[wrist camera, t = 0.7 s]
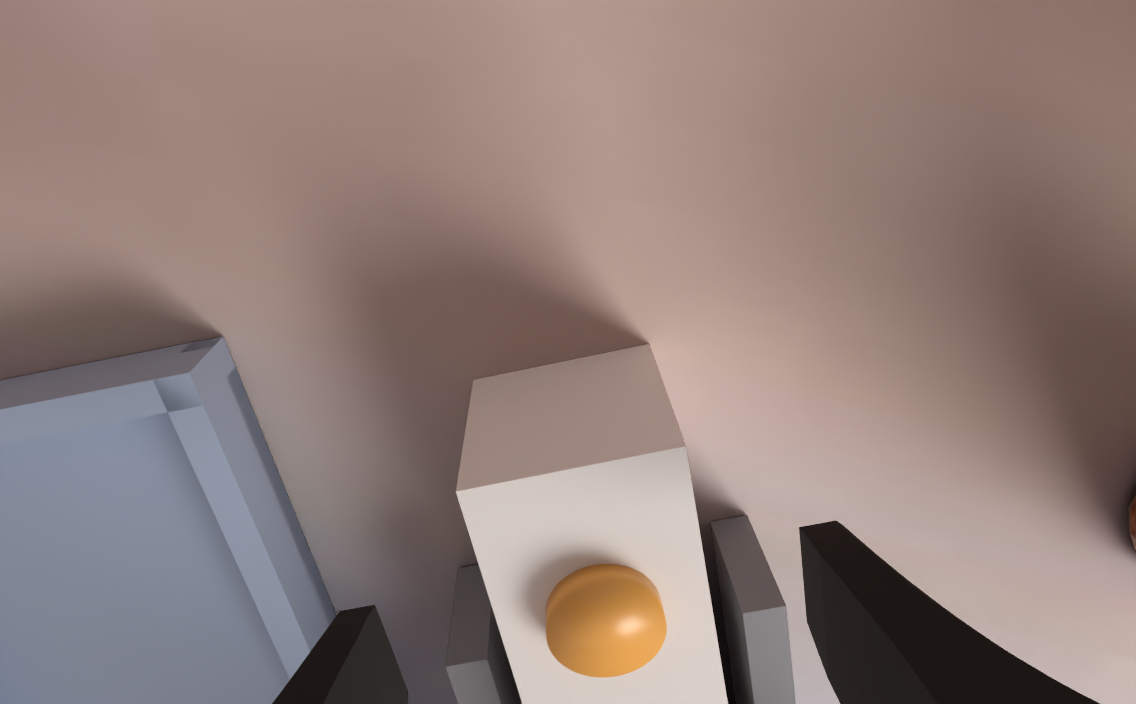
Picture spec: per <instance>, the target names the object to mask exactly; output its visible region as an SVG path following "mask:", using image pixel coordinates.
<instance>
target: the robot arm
mask: <svg viewBox="0 0 1136 704" xmlns="http://www.w3.org/2000/svg"><path fill="white" fill-rule="evenodd" d="M799 531H800V543H801V555H802V567H803V579H804V591H805V603H806V616H807V623H808V625H809V628H810V631H811V634H812V636H813V639H814V642H815V645H816V648H817V650H818V653H819V656H820V658H821V661H822V664H823V666H824V669H825V671H826V674H827V677H828V679H829V681H830V683H831V685H832V687H833V689H834V691H835V693H836V695H837V697H838V699H839V701H840V703H841V704H1099V703H1097V702H1095V701H1094V700H1092V699H1090V698H1088V697H1086V696H1084V695H1082V694H1080V693H1078V692H1076V691H1074V690H1072V689H1071V688H1069V687H1067V686H1065V685H1063V684H1061V683H1060V682H1058V681H1056V680H1054V679H1052V678H1051V677H1049V676H1047V675H1046V674H1044V673H1042V672H1041V671H1039V670H1037V669H1035V668H1034V667H1032V666H1030V665H1029V664H1027V663H1025V662H1024V661H1022V660H1020V659H1019V658H1017V657H1015V656H1014V655H1012V654H1011V653H1009V652H1007V651H1006V650H1004V649H1003V648H1001V647H1000V646H998V645H997V644H995V643H994V642H992V641H991V640H989V639H987V638H986V637H985V636H983V635H982V634H980V633H979V632H977V631H976V630H974V629H973V628H972V627H970V626H969V625H967V624H966V623H964V622H963V621H961V620H960V619H959V618H957V617H956V616H954V615H953V614H952V613H950V612H949V611H948V610H946V609H945V608H943V607H942V606H941V605H939V604H938V603H937V602H936V601H934V600H933V599H932V598H930V597H929V596H928V595H926V594H925V593H924V592H923V591H921V590H920V589H919V588H917V587H916V586H915V585H913V584H912V583H911V582H910V581H908V580H907V579H906V578H905V577H903V576H902V575H901V574H900V573H898V572H897V571H896V570H895V569H893V568H892V567H891V566H890V565H889V564H887V563H886V562H885V561H884V560H883V559H881V558H880V557H879V556H878V555H877V554H875V553H874V552H873V551H872V550H871V549H870V548H868V547H867V546H866V545H865V544H864V543H863V542H861V541H860V540H859V539H858V538H857V537H856V536H855V535H853V534H852V533H851V532H850V531H849V530H848V529H847V528H845V527H844V526H843V525H842V524H840V523H839V522H837V521H831V522H826V523H820V524H815V525H809V526H804V527H799ZM407 703H408V691H407V688H406V685H405V683H404V680H403V677H402V675H401V672H400V670H399V667H398V664H397V662H396V659H395V656H394V654H393V651H392V648H391V646H390V643H389V641H388V638H387V635H386V633H385V630H384V627H383V625H382V622H381V619H380V617H379V614H378V612H377V609H376V606H375V605H371V606H366V607H360V608H355V609H349V610H344V611H340V612H339V613H338V615H337V616H336V617H335V619H334V620H333V621H332V623H331V624H330V625H329V627H328V628H327V629H326V631H325V632H324V634H323V635H322V636H321V638H320V639H319V640H318V642H317V643H316V644H315V646H314V647H313V649H312V650H311V651H310V653H309V654H308V656H307V657H306V658H305V660H304V661H303V662H302V664H301V665H300V667H299V668H298V669H297V671H296V672H295V673H294V675H293V676H292V678H291V679H290V680H289V682H288V683H287V684H286V686H285V687H284V688H283V690H282V691H281V692H280V694H279V695H278V696H277V698H276V699H275V700H274V702H273V703H272V704H407Z"/></svg>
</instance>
